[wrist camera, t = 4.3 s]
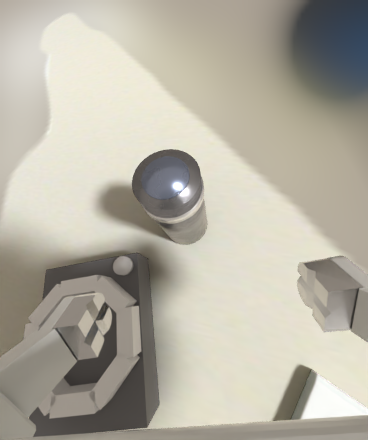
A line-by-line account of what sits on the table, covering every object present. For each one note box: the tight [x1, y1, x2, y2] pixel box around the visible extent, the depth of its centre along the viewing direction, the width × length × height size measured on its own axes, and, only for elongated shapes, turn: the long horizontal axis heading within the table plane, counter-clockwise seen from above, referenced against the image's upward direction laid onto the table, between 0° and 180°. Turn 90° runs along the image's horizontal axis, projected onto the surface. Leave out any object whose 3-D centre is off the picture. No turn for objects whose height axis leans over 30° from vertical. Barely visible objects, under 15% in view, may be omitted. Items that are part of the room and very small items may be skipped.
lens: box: [132, 149, 207, 245], centre depth 17 cm, size 5×5×9 cm
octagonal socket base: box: [23, 253, 159, 437], centre depth 17 cm, size 12×9×4 cm
